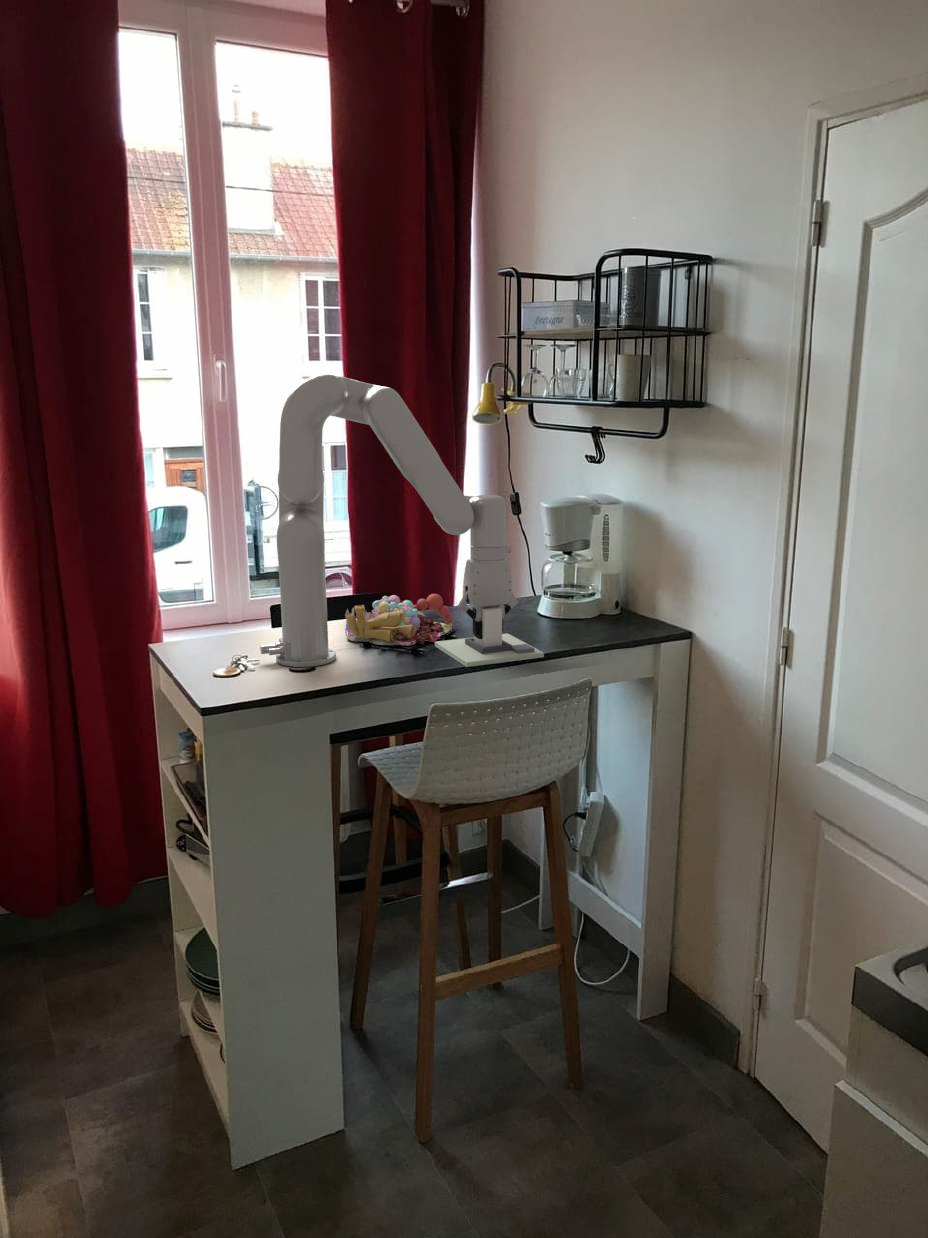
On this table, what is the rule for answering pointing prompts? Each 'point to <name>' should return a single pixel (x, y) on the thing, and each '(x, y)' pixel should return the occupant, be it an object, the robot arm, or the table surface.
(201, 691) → the table surface
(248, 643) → the table surface
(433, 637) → the candy landscape model
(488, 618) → the plug
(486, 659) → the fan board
